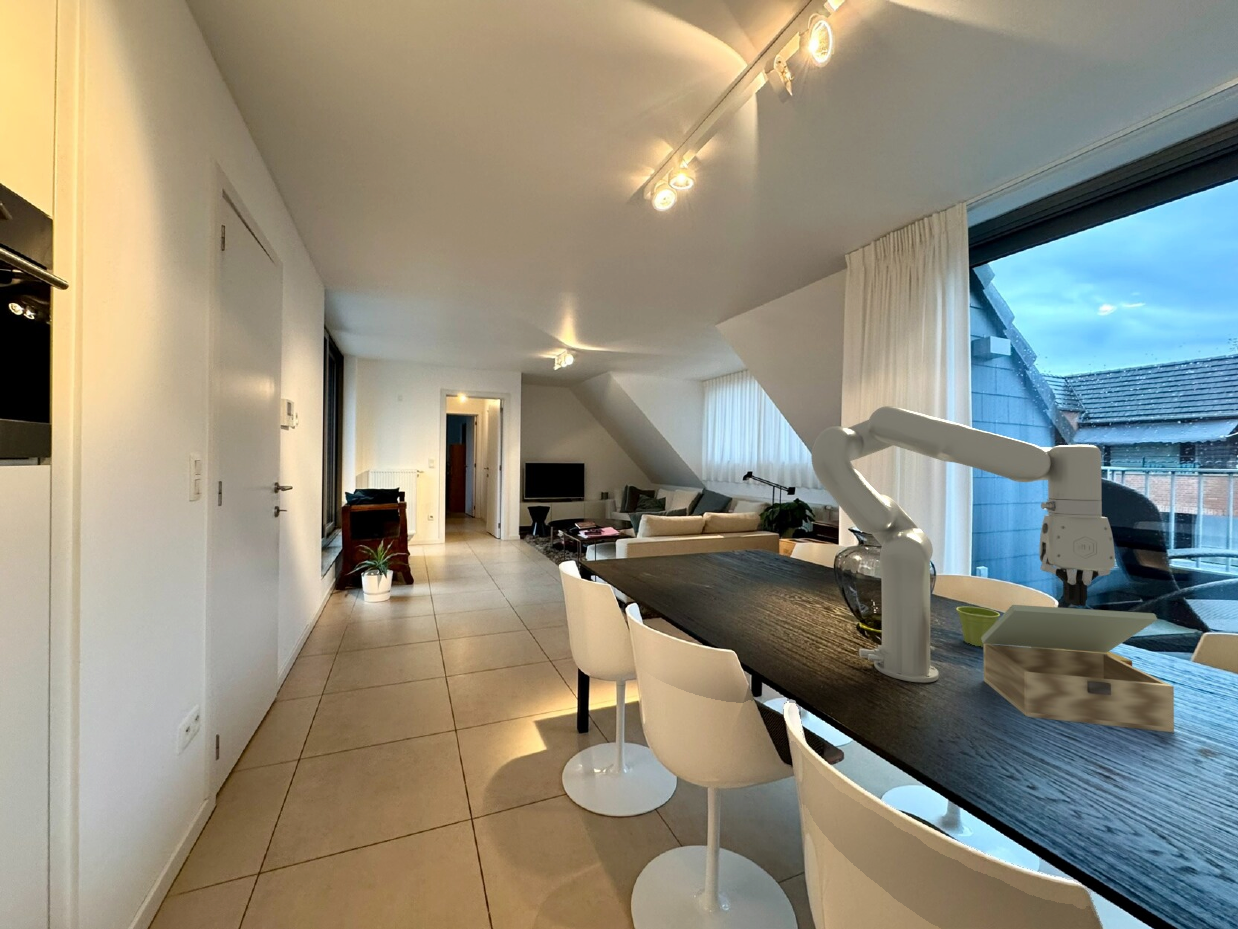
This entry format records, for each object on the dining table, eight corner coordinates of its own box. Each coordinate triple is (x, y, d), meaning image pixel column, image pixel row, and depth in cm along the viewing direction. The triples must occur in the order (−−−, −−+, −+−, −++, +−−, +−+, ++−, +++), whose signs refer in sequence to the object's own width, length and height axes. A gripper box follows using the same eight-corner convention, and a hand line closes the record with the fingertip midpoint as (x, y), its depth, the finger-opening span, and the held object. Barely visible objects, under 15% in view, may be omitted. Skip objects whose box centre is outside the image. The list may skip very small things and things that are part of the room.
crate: (1028, 717, 89) (1028, 674, 89) (983, 680, 105) (983, 643, 105) (1176, 733, 84) (1176, 687, 84) (1105, 692, 100) (1105, 653, 100)
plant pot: (952, 643, 128) (952, 610, 128) (961, 635, 135) (960, 604, 135) (996, 653, 121) (996, 618, 122) (1003, 644, 128) (1003, 611, 128)
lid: (1014, 610, 93) (1012, 604, 94) (982, 643, 105) (980, 637, 106) (1157, 619, 88) (1154, 613, 89) (1106, 652, 100) (1103, 647, 101)
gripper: (1040, 509, 92) (1041, 606, 91) (1137, 511, 88) (1138, 612, 88) (1018, 506, 99) (1018, 596, 99) (1106, 508, 95) (1107, 601, 95)
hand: (1075, 603), depth 93 cm, fingers closed
